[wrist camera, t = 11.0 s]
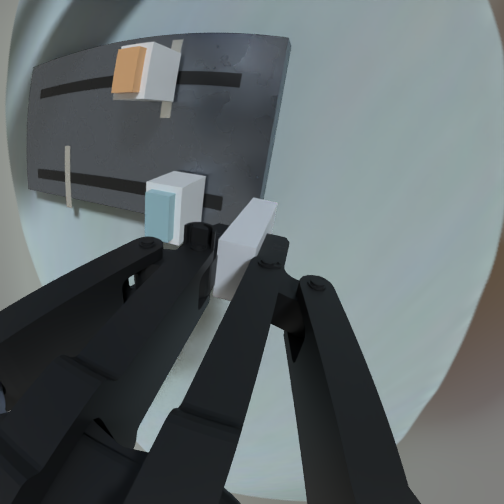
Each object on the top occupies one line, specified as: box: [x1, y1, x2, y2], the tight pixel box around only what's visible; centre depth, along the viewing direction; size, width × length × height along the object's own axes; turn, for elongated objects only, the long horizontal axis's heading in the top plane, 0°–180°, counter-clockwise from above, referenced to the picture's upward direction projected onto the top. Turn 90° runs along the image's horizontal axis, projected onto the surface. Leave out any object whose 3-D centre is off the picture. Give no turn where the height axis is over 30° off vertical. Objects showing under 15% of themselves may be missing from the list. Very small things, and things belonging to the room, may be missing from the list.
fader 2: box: [145, 171, 206, 246], centre depth 17 cm, size 4×2×4 cm, turn 170°
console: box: [27, 33, 291, 226], centre depth 19 cm, size 15×26×2 cm, turn 80°
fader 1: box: [111, 42, 181, 102], centre depth 13 cm, size 4×2×4 cm, turn 170°
